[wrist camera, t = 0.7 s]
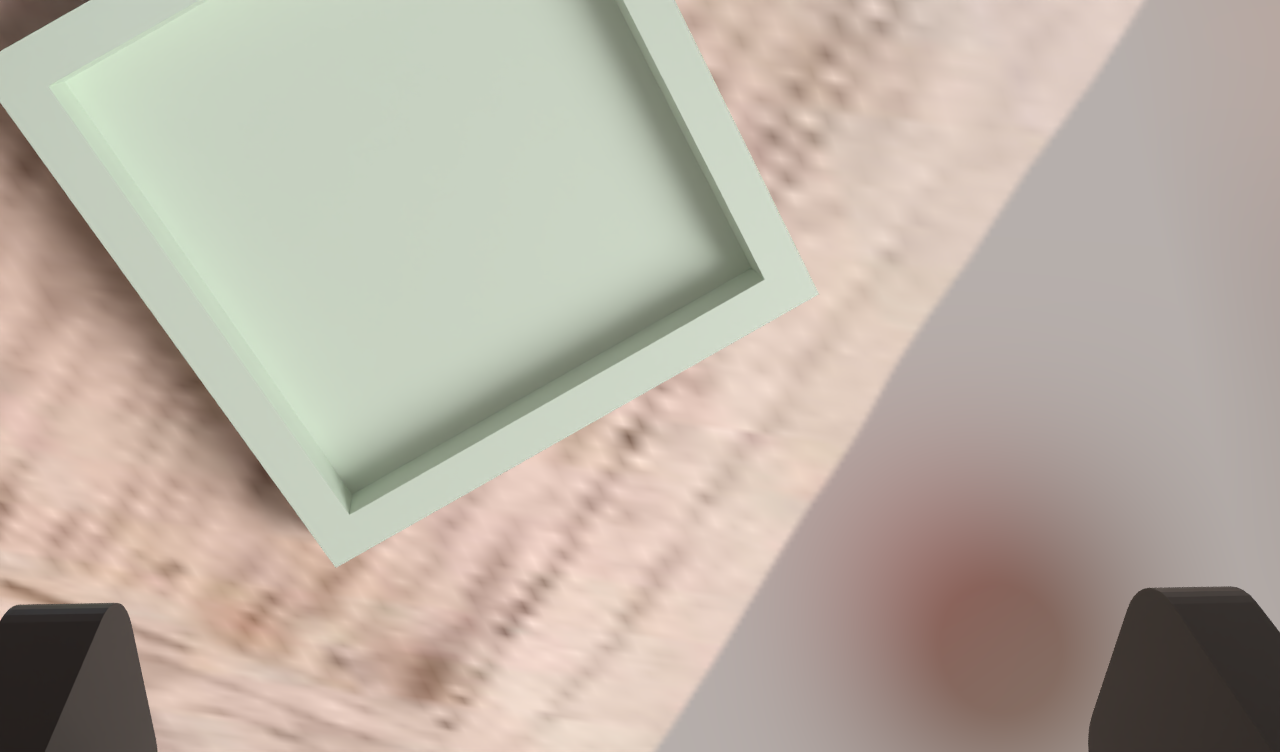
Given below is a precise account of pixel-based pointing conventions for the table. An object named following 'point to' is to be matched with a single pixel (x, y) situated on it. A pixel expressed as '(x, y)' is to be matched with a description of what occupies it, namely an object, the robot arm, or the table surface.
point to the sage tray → (409, 222)
